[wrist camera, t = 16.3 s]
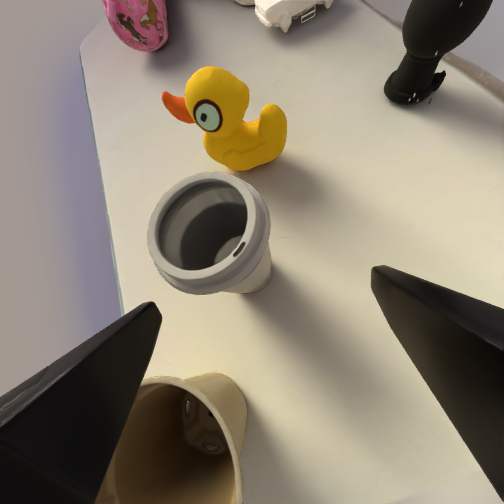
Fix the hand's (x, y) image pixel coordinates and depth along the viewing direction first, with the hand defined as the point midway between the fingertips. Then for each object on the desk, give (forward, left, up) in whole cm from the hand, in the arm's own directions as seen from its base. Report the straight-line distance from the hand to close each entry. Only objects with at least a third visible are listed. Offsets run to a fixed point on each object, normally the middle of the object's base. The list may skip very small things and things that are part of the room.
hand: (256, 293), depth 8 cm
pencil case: (+56, +14, -12) cm, 59 cm away
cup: (+4, +2, -12) cm, 13 cm away
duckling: (+18, +1, -12) cm, 22 cm away
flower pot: (-8, +7, -12) cm, 16 cm away
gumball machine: (+21, -19, -12) cm, 31 cm away
